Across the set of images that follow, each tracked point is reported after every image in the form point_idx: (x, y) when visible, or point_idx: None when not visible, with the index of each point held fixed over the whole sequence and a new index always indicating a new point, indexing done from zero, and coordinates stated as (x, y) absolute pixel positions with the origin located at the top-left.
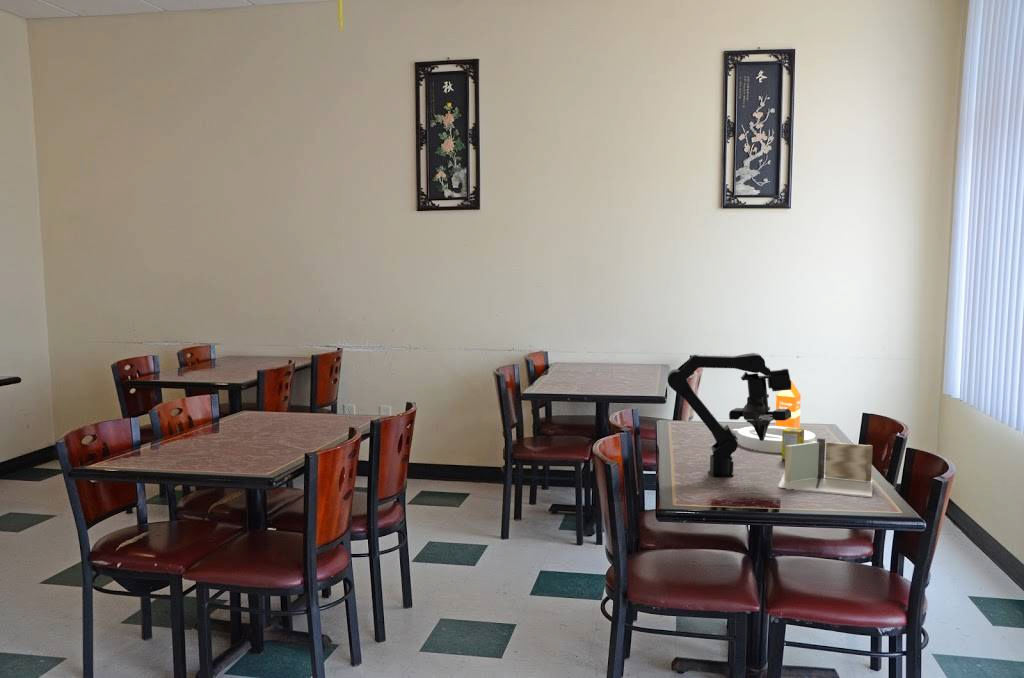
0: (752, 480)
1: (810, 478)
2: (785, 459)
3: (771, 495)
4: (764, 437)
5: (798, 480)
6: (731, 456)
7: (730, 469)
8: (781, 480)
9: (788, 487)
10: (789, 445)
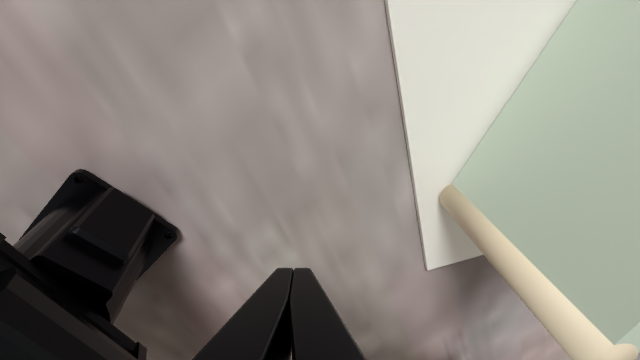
0: (285, 226)
1: (556, 26)
2: (511, 287)
3: (426, 347)
4: (321, 292)
5: (495, 117)
6: (102, 287)
7: (142, 242)
8: (416, 172)
9: (469, 256)
10: (621, 340)
